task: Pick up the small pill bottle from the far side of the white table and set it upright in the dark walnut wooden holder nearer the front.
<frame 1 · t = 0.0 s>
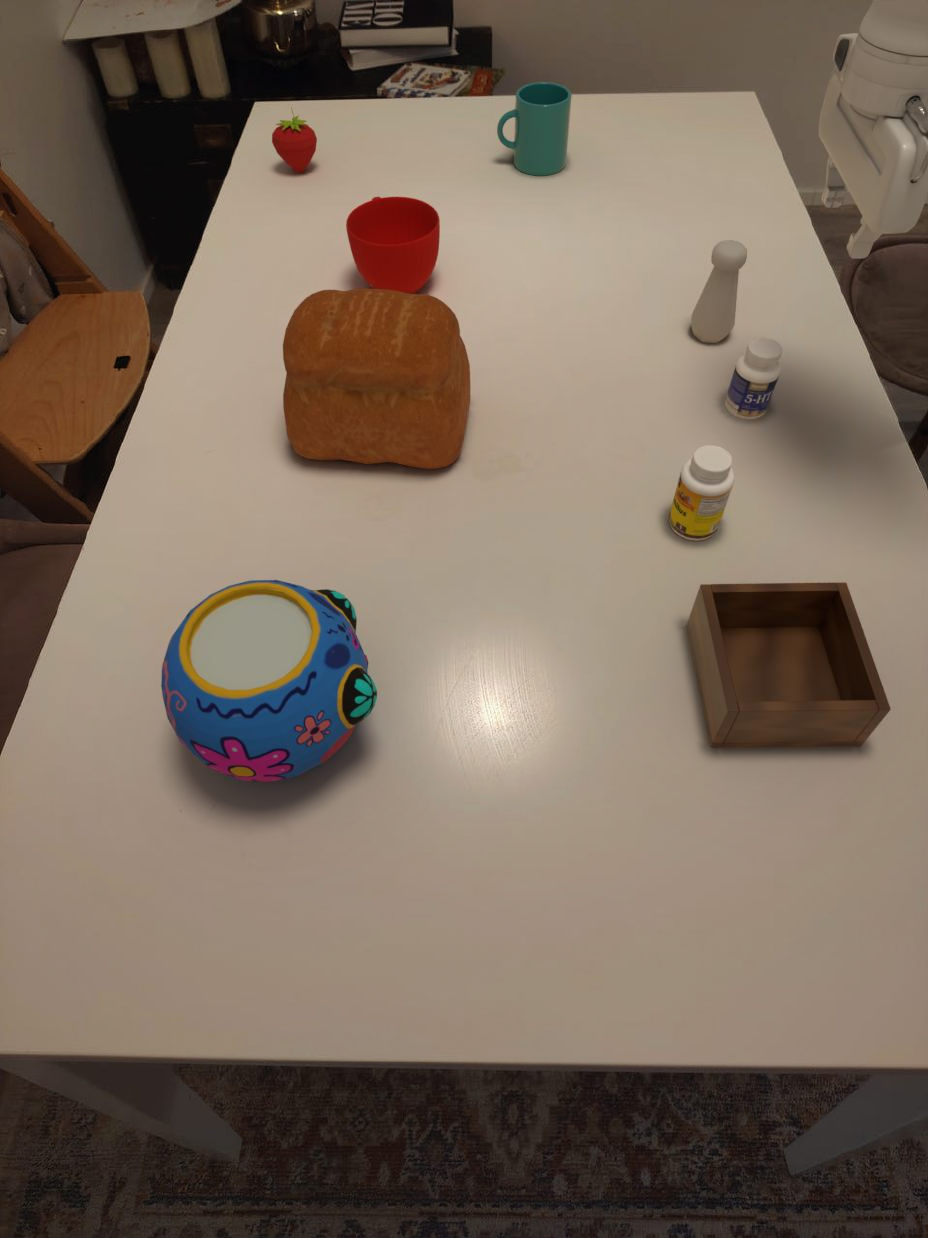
hand: (842, 228, 83), 25 cm above the table, tool pointing down, fingers open, 8 cm apart
strawberry: (300, 173, 143), on the table
salt shaker: (708, 336, 114), on the table
pill bottle: (745, 408, 105), on the table
ceramic pot: (286, 725, 79), on the table
ceramic cup: (395, 280, 123), on the table
cup: (531, 166, 143), on the table
supplement bottle: (692, 526, 93), on the table
bread: (383, 429, 104), on the table
holder: (768, 683, 81), on the table
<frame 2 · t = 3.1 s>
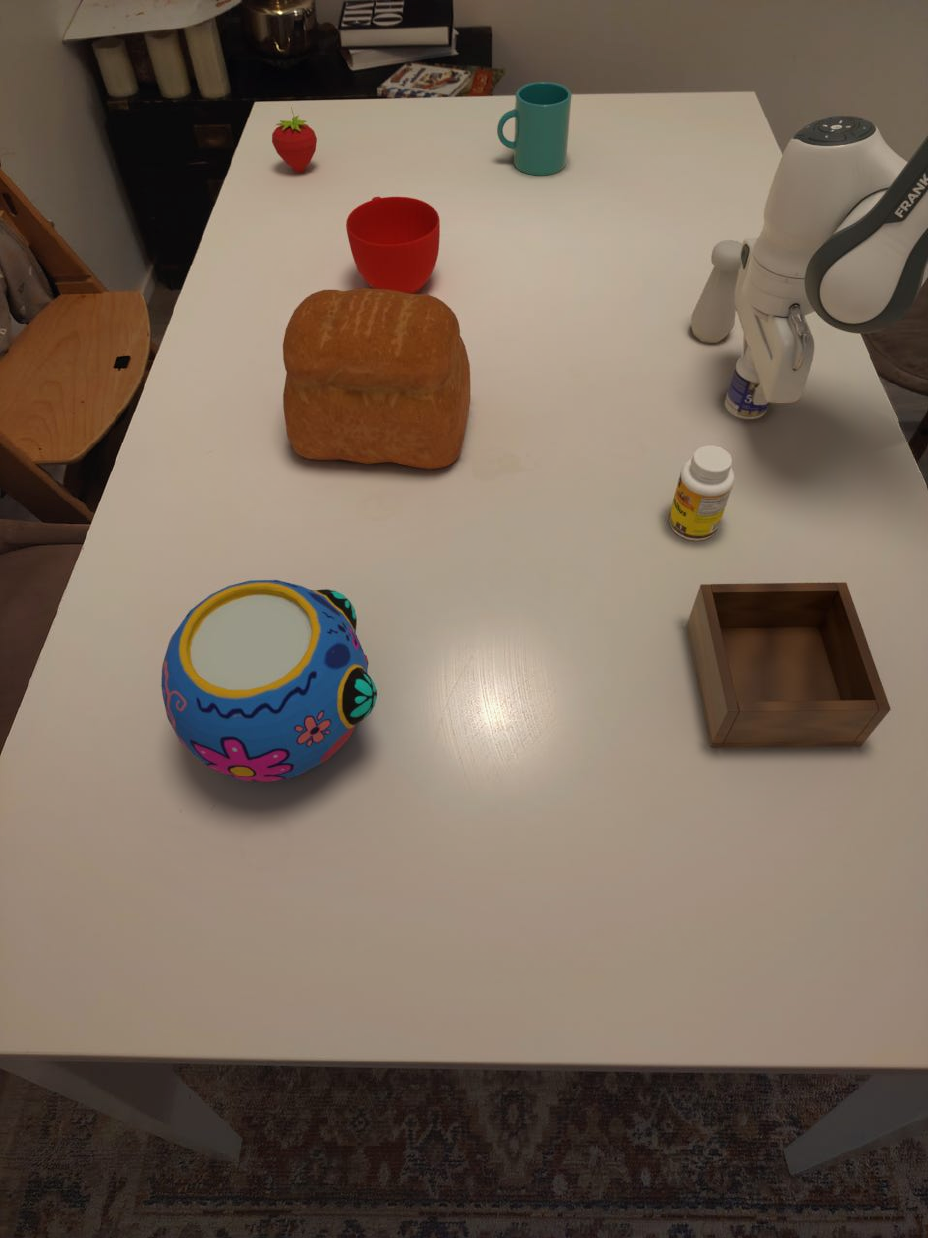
hand: (752, 383, 102), 4 cm above the table, tool pointing down, fingers closed on pill bottle, 5 cm apart
pill bottle: (744, 408, 105), on the table, touching gripper
everything else where it was.
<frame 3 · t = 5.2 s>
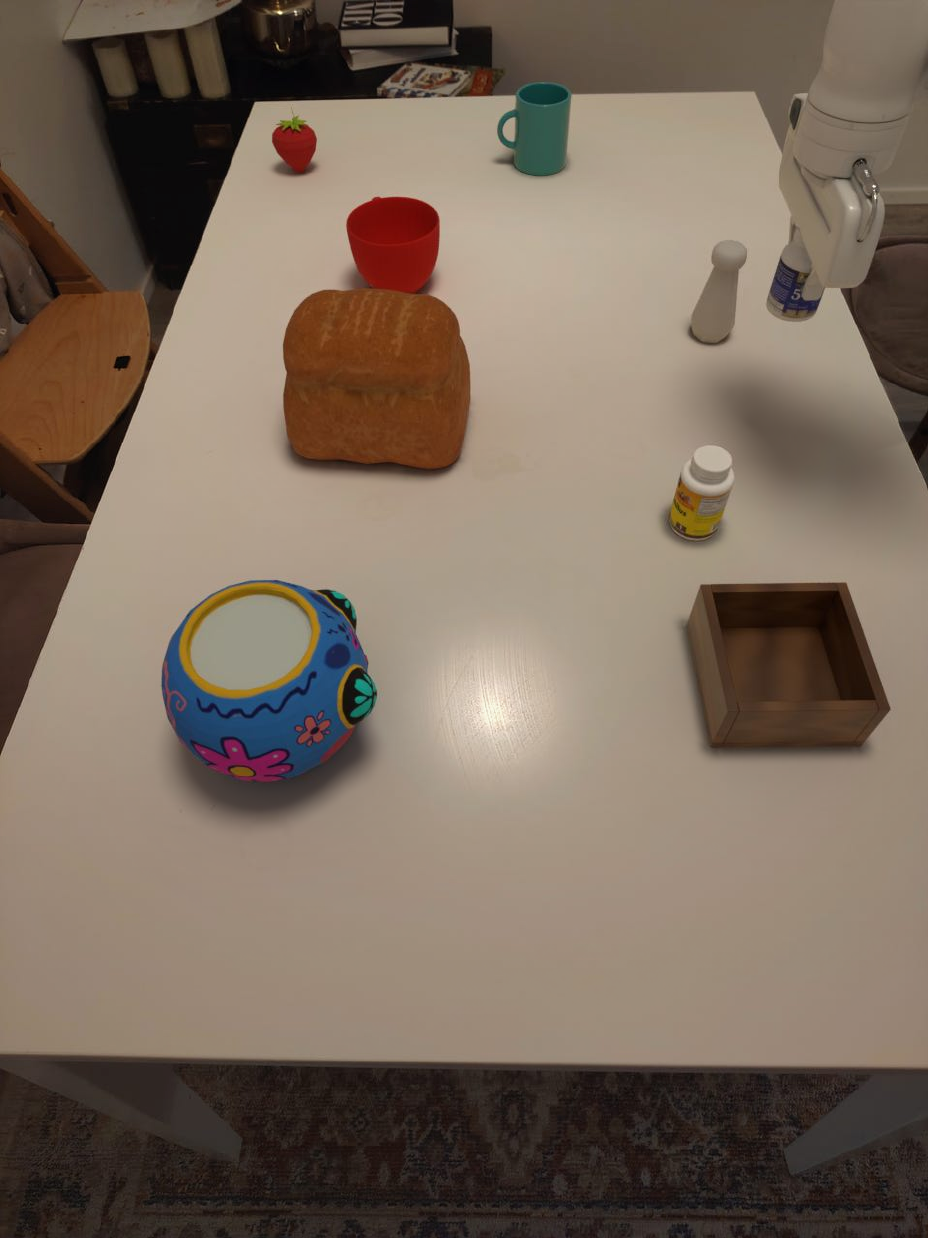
hand: (801, 277, 85), 21 cm above the table, tool pointing down, fingers closed on pill bottle, 5 cm apart
pill bottle: (790, 310, 88), point 17 cm above the table, touching gripper
everything else where it was.
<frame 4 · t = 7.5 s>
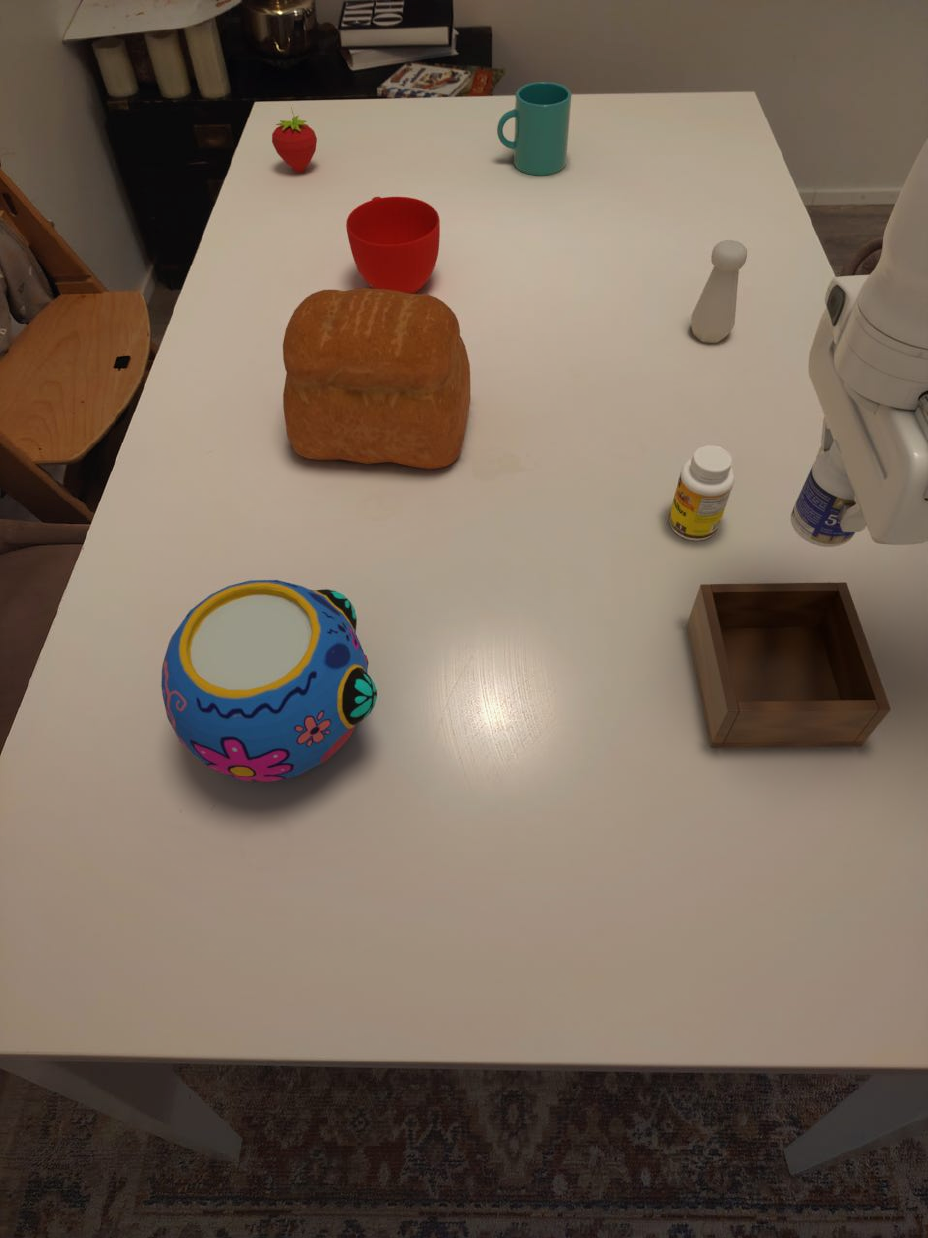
hand: (837, 494, 67), 21 cm above the table, tool pointing down, fingers closed on pill bottle, 5 cm apart
pill bottle: (820, 526, 70), point 17 cm above the table, touching gripper
everything else where it was.
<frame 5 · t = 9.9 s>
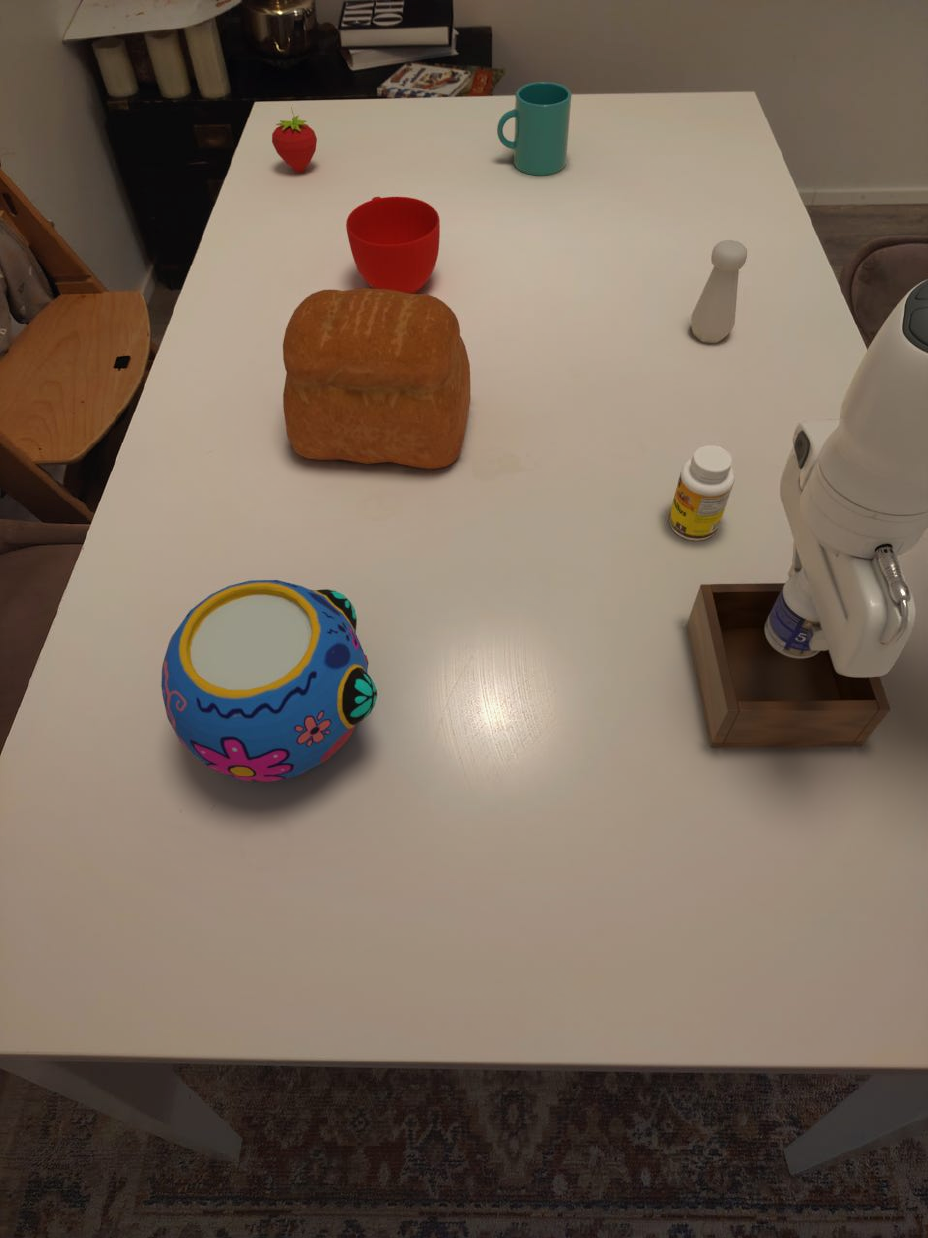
hand: (807, 611, 71), 12 cm above the table, tool pointing down, fingers closed on pill bottle, 5 cm apart
pill bottle: (793, 637, 74), point 8 cm above the table, touching gripper
everything else where it was.
when the fingers open (4 cm above the table, at t = 12.1 s): pill bottle stays where it is, resting on holder.
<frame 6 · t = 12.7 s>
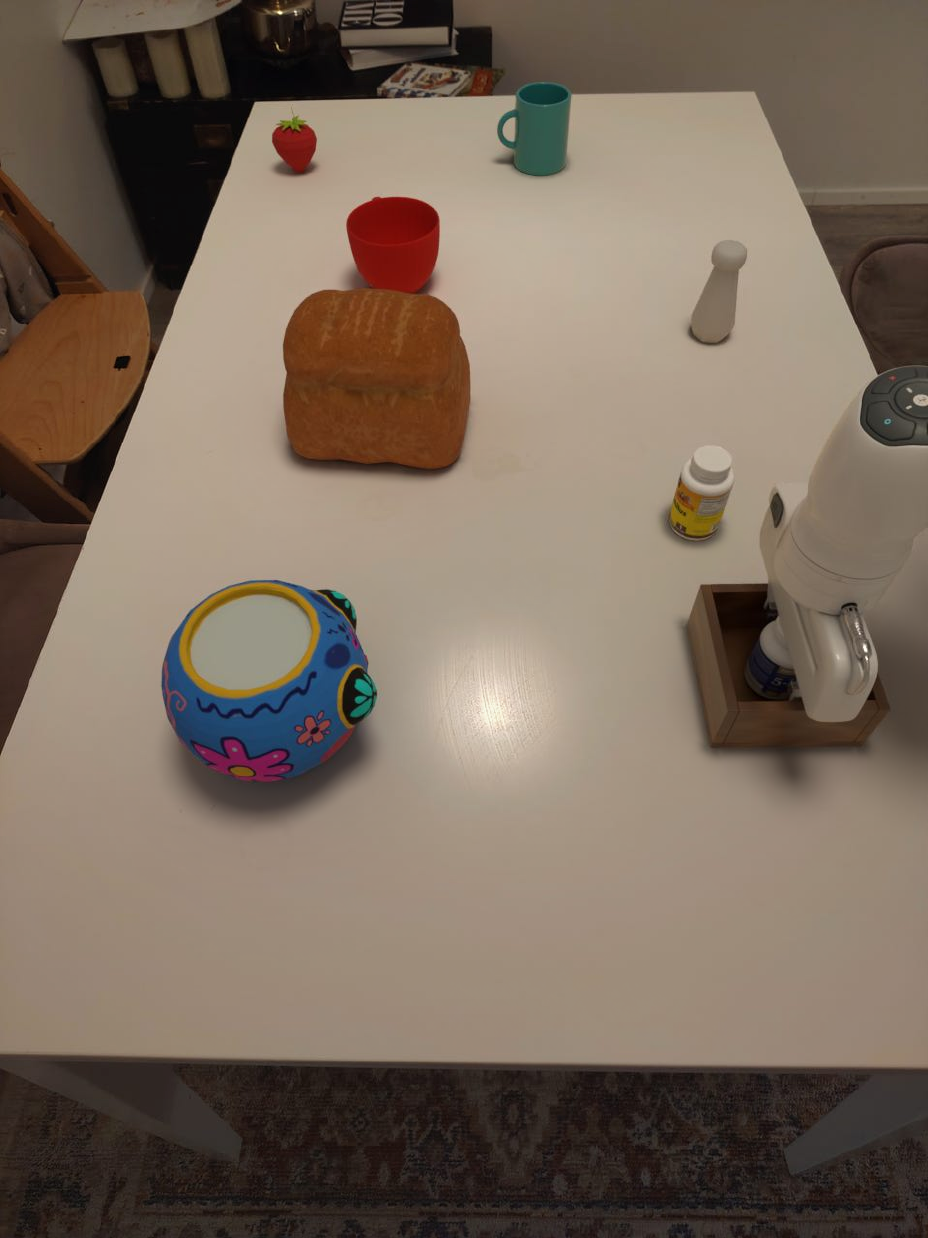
hand: (784, 655, 77), 5 cm above the table, tool pointing down, fingers open, 8 cm apart
pill bottle: (770, 679, 80), point 1 cm above the table, touching holder
everything else where it was.
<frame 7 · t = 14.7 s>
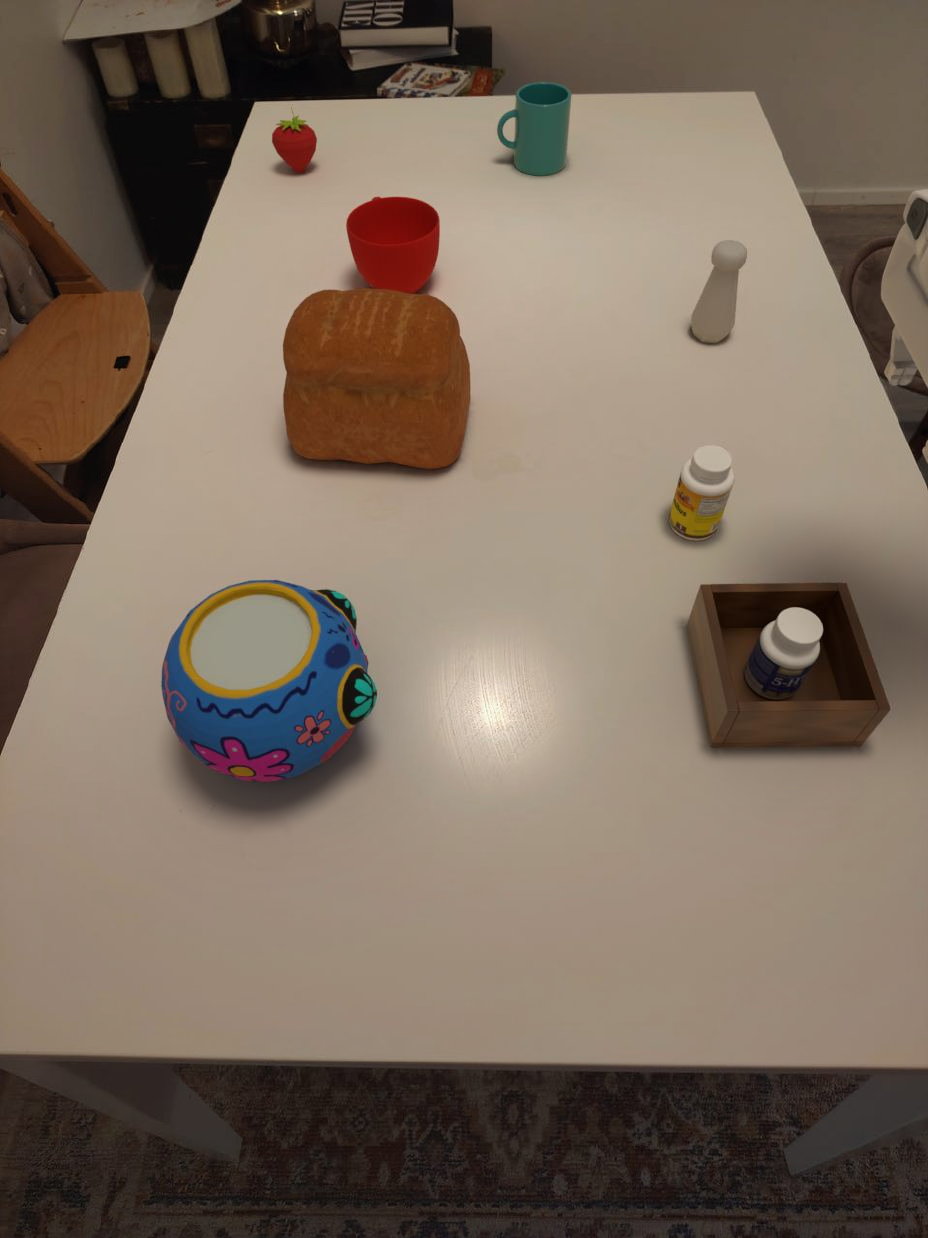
hand: (914, 418, 66), 25 cm above the table, tool pointing down, fingers open, 8 cm apart
nothing on the table moved.
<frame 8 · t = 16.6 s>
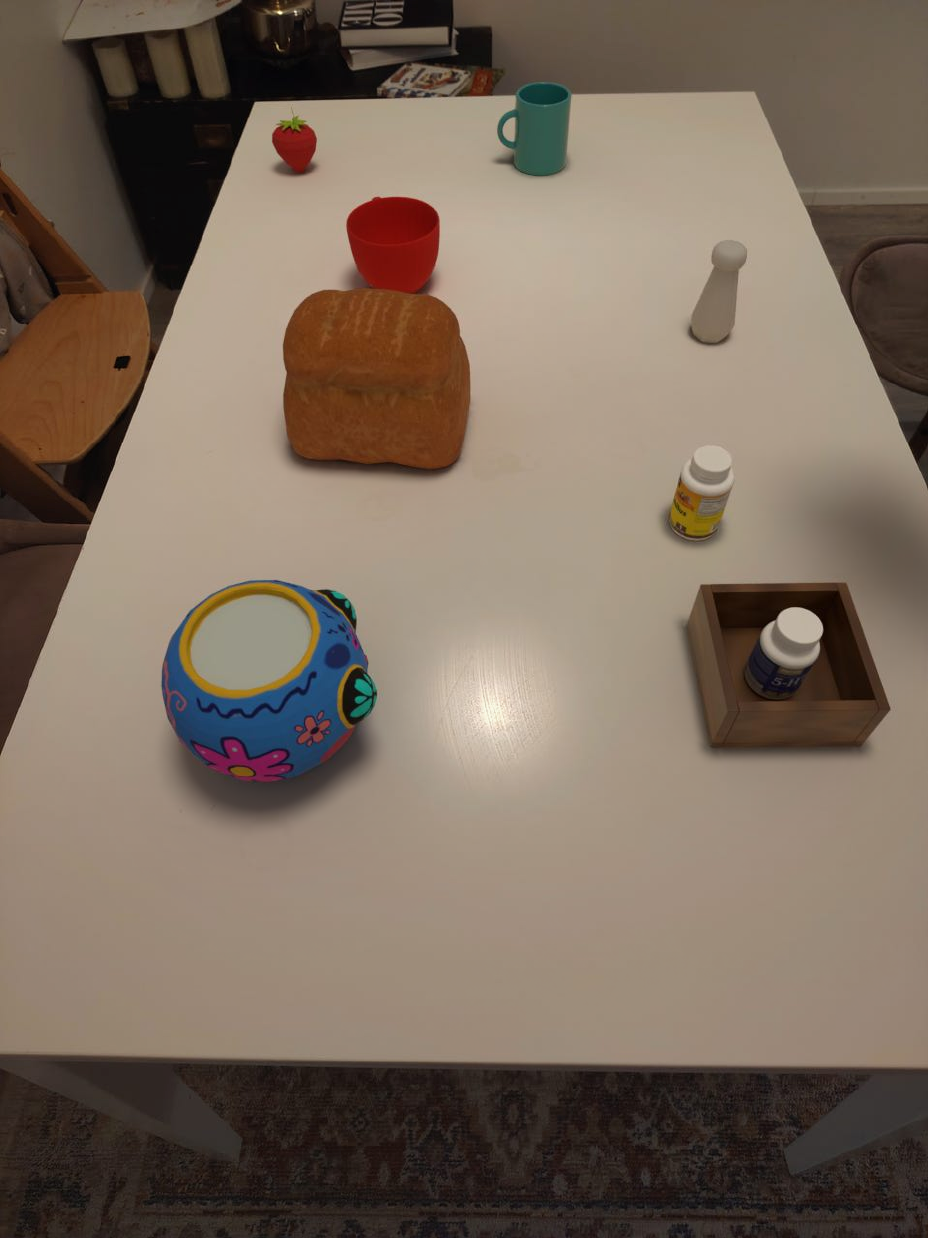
nothing on the table moved.
at the end: pill bottle inside the target area in the holder (0.0 cm from its centre), point 0.8 cm above the holder's base; pill bottle tilted 0°; the gripper is holding nothing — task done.
